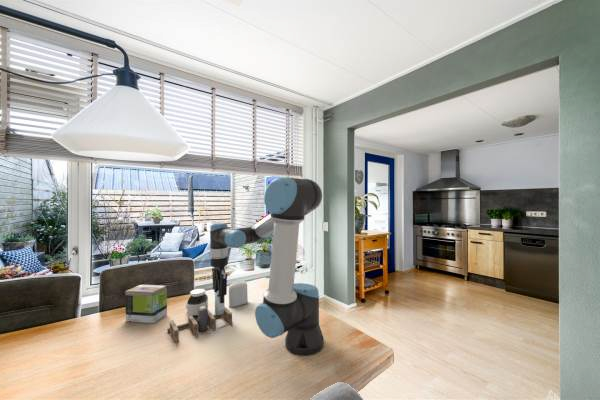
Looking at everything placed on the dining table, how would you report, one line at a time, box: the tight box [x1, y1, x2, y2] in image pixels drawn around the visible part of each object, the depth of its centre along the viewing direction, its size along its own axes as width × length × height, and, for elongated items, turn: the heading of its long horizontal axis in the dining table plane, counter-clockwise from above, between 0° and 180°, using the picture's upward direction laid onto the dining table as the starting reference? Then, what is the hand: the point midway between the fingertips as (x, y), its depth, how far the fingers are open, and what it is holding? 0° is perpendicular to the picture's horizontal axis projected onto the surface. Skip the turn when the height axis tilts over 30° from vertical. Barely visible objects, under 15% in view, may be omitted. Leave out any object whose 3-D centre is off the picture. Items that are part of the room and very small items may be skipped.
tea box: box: [124, 284, 168, 324], centre depth 121 cm, size 15×10×15 cm, turn 80°
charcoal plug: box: [197, 306, 209, 334], centre depth 109 cm, size 4×4×10 cm
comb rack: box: [166, 306, 233, 344], centre depth 111 cm, size 11×26×5 cm, turn 128°
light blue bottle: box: [214, 290, 224, 315], centre depth 114 cm, size 4×4×10 cm
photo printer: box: [228, 280, 249, 308], centre depth 135 cm, size 10×4×12 cm, turn 127°
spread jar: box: [185, 288, 209, 319], centre depth 125 cm, size 12×11×12 cm
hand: (219, 307), depth 114 cm, fingers closed on light blue bottle, 3 cm apart
